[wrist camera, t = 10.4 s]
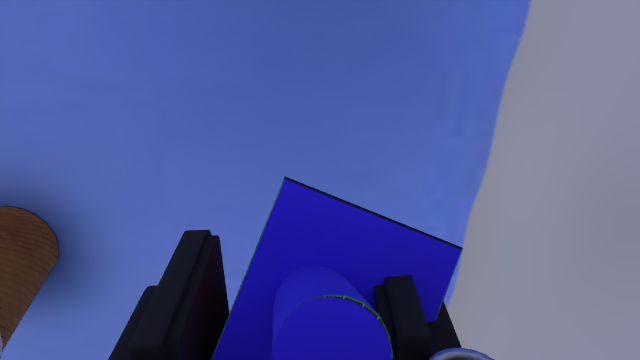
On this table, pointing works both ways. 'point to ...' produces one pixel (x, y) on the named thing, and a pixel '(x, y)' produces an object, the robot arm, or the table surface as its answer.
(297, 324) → the toy building block
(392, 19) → the table surface
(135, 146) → the table surface
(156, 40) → the table surface
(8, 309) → the disposable coffee cup
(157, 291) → the robot arm
